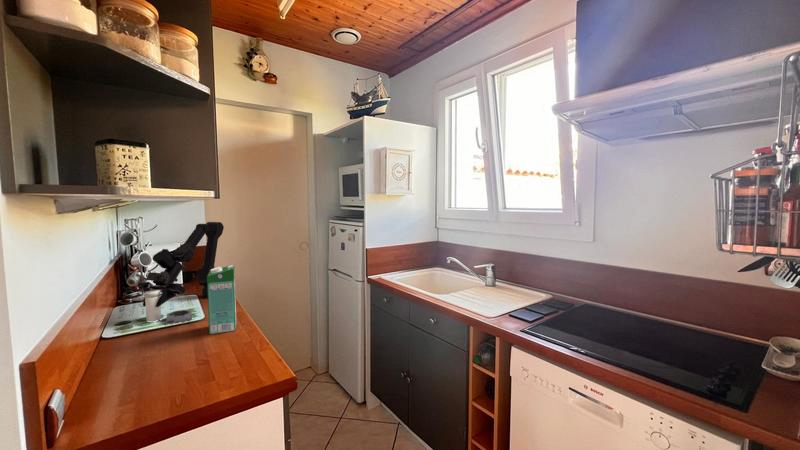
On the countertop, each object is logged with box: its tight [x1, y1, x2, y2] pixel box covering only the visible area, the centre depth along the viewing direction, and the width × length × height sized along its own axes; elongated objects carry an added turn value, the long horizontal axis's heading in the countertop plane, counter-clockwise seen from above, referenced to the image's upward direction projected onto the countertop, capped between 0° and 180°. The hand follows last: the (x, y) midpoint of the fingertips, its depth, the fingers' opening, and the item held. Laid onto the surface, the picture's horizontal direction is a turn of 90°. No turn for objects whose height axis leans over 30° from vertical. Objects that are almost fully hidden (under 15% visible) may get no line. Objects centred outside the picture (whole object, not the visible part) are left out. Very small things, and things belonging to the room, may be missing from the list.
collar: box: [165, 309, 193, 325], centre depth 139 cm, size 9×9×3 cm
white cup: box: [144, 290, 162, 321], centre depth 137 cm, size 5×5×12 cm
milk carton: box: [207, 264, 237, 335], centre depth 129 cm, size 9×9×25 cm
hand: (150, 306), depth 136 cm, fingers open, 6 cm apart
